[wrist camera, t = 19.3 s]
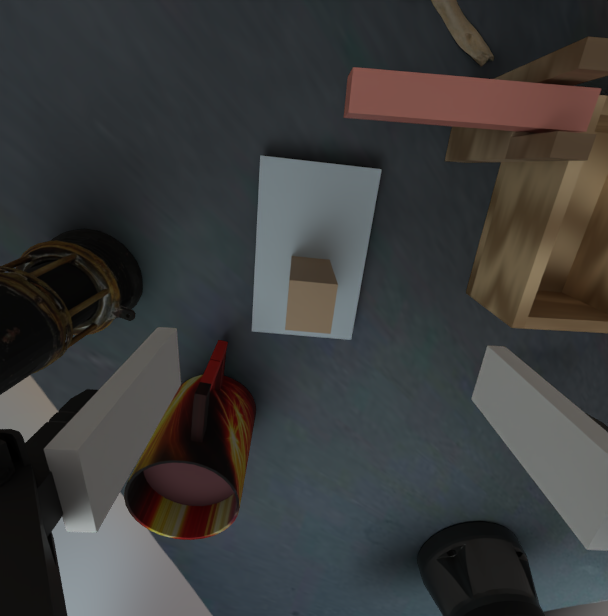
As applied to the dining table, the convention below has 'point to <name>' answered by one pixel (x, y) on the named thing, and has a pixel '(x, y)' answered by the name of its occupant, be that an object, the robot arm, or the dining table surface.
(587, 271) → the open wooden box
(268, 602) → the dining table surface
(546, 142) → the post
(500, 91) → the bar
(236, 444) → the mug
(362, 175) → the lid
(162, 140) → the dining table surface
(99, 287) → the lantern
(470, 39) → the jawbone
